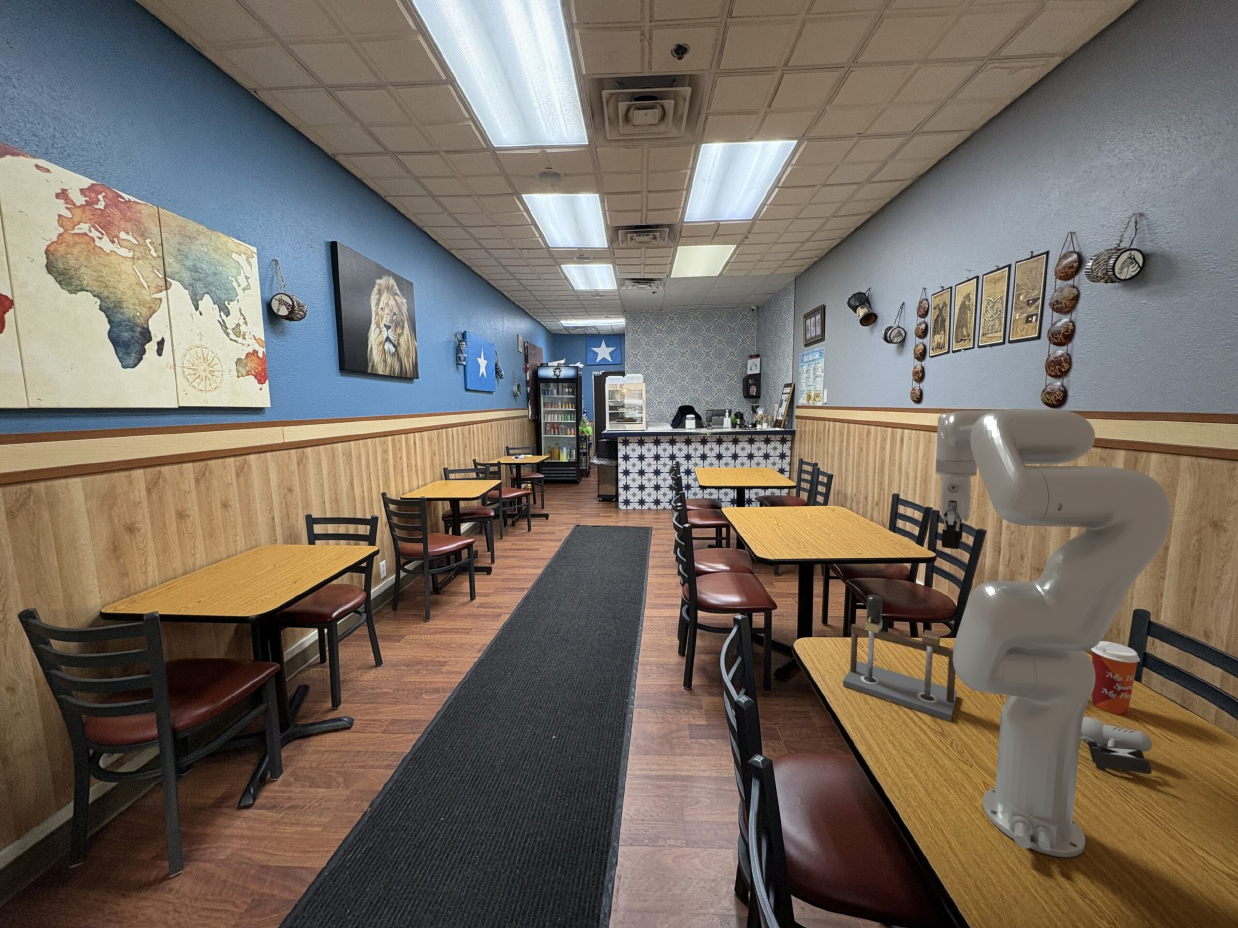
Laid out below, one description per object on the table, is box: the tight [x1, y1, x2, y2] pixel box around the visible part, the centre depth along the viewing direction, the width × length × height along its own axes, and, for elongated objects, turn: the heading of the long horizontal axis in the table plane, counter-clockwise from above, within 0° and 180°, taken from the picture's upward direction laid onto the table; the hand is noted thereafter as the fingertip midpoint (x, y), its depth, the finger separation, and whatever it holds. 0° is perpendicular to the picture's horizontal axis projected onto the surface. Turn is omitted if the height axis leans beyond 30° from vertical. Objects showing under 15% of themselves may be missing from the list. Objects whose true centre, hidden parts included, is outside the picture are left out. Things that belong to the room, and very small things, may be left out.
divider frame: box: [849, 623, 956, 703], centre depth 115 cm, size 4×22×14 cm, turn 50°
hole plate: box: [842, 660, 958, 722], centre depth 116 cm, size 12×22×2 cm, turn 50°
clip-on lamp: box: [1080, 716, 1153, 775], centre depth 95 cm, size 12×6×18 cm
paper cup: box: [1090, 640, 1141, 716], centre depth 107 cm, size 8×8×14 cm
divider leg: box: [864, 594, 883, 678], centre depth 118 cm, size 4×3×20 cm
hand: (952, 543), depth 108 cm, fingers open, 9 cm apart
